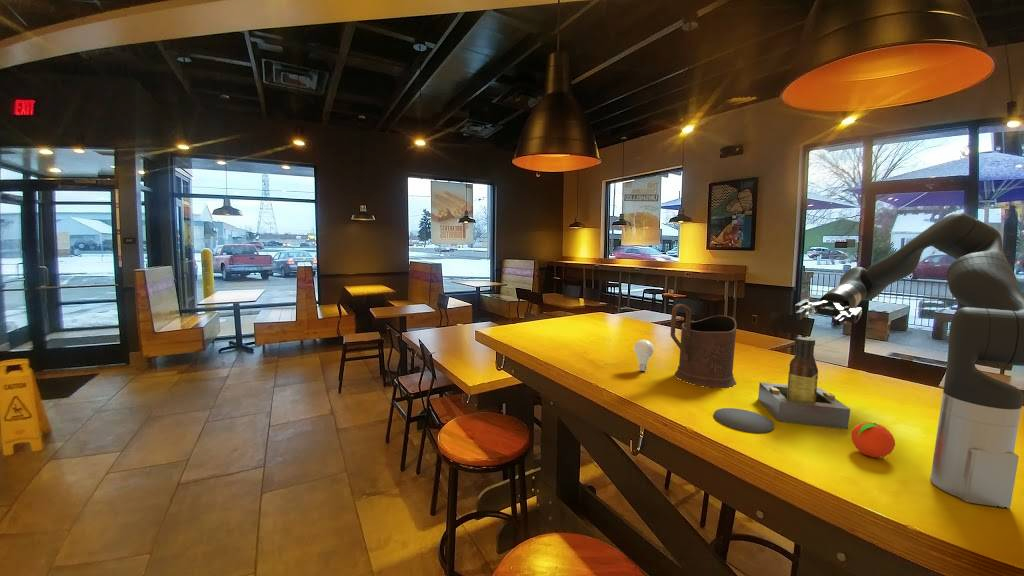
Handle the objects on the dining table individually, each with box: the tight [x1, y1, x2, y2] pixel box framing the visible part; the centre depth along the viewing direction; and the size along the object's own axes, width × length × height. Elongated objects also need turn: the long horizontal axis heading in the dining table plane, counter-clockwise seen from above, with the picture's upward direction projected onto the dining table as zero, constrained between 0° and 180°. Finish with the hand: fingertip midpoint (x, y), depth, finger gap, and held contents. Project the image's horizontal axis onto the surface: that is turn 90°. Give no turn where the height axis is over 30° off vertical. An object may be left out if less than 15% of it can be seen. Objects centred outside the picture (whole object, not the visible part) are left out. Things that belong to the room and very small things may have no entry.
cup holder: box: [670, 303, 738, 389], centre depth 132 cm, size 18×24×25 cm
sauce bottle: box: [787, 336, 819, 402], centre depth 107 cm, size 6×6×20 cm
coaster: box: [713, 407, 775, 434], centre depth 102 cm, size 13×13×1 cm
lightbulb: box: [633, 339, 655, 372], centre depth 140 cm, size 6×6×11 cm
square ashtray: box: [757, 381, 851, 430], centre depth 108 cm, size 15×15×6 cm
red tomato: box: [850, 421, 896, 458], centre depth 86 cm, size 8×7×7 cm
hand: (816, 319), depth 112 cm, fingers open, 8 cm apart
